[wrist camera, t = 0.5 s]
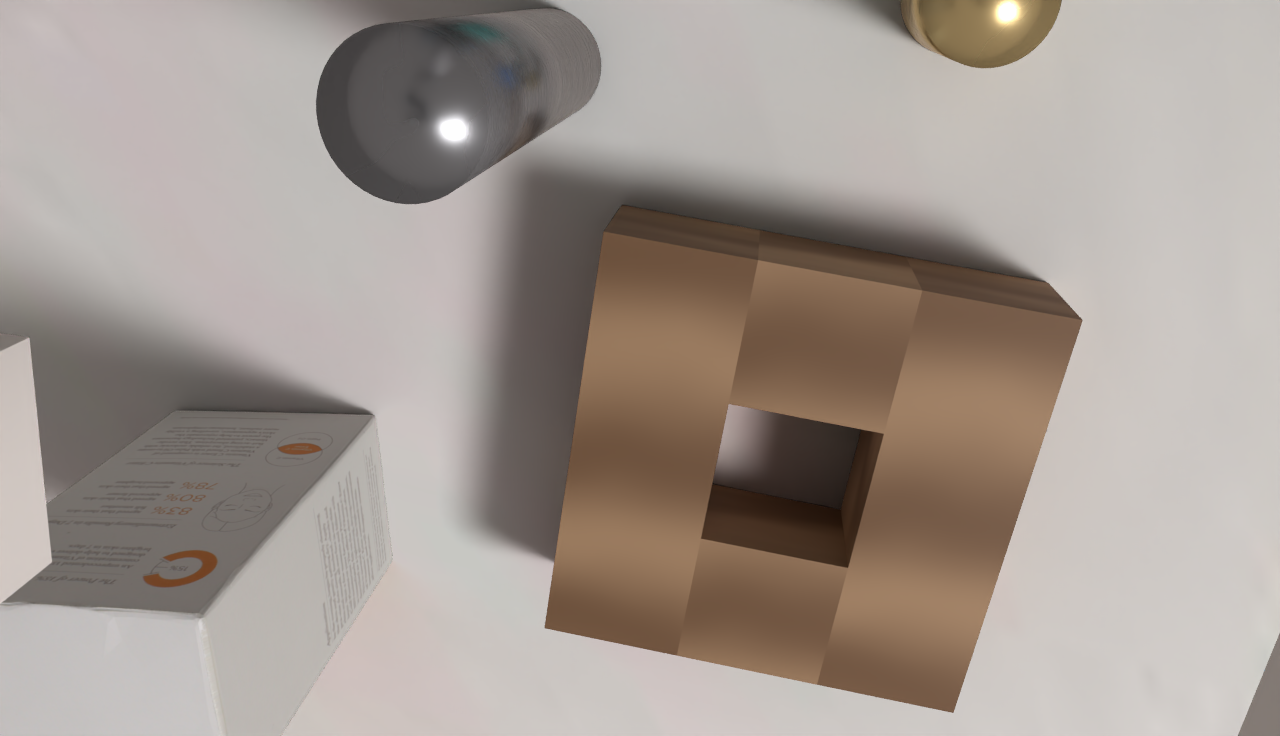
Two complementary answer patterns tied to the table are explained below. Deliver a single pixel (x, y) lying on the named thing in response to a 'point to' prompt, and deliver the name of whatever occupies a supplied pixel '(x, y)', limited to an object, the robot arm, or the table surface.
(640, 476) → the hole block
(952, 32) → the short pin
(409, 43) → the long pin
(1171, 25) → the table surface
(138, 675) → the small box
